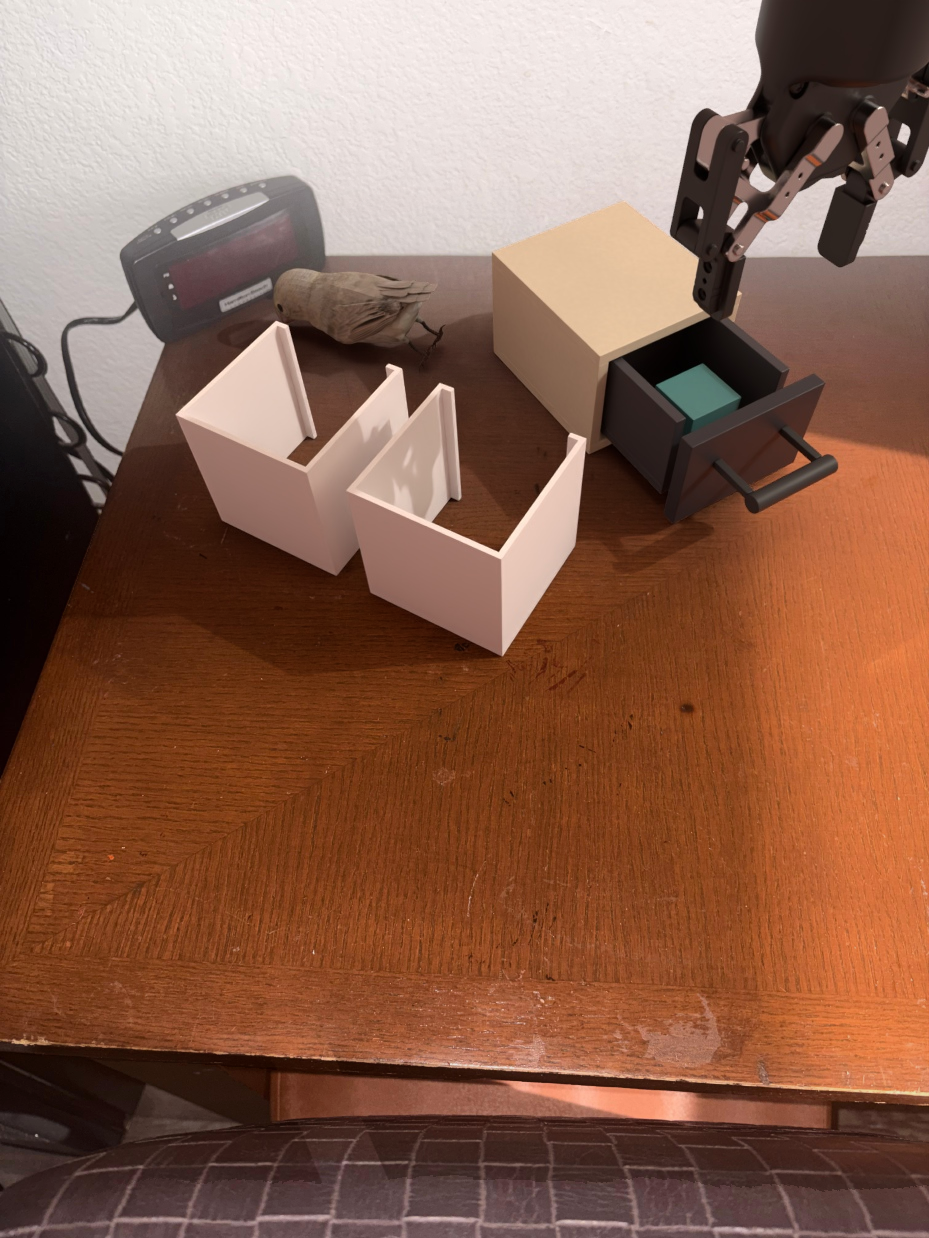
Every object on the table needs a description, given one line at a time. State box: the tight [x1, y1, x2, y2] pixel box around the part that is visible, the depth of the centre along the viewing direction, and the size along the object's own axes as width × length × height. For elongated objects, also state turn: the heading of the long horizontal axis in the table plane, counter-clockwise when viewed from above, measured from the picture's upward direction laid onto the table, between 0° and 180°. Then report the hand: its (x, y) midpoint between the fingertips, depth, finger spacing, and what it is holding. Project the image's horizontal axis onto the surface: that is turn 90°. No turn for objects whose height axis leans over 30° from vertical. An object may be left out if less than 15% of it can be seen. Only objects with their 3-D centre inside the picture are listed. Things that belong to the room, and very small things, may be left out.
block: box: [655, 363, 741, 437], centre depth 64 cm, size 4×4×4 cm
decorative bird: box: [272, 267, 446, 373], centre depth 74 cm, size 5×16×7 cm, turn 68°
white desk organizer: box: [175, 320, 586, 657], centre depth 60 cm, size 25×11×11 cm, turn 59°
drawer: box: [600, 316, 839, 525], centre depth 63 cm, size 18×12×8 cm, turn 30°
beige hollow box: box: [491, 200, 743, 455], centre depth 69 cm, size 15×13×10 cm
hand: (774, 284), depth 46 cm, fingers open, 8 cm apart
